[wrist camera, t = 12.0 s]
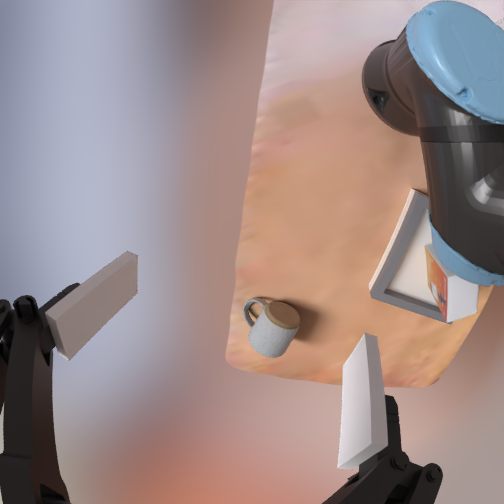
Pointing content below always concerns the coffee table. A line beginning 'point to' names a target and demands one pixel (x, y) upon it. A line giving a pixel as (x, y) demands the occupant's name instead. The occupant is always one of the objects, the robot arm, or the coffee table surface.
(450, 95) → the robot arm
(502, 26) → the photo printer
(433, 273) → the small box
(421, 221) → the square gray-rimmed holder
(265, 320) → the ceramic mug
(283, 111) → the coffee table surface
